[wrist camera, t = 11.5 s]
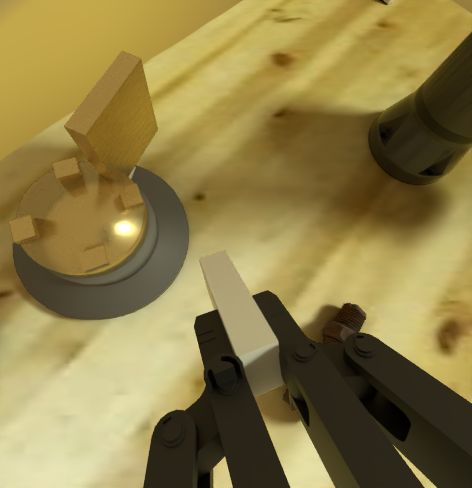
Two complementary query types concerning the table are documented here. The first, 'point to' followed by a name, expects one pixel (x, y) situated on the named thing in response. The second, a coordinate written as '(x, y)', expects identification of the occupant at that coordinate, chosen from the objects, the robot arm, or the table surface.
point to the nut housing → (127, 277)
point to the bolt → (340, 328)
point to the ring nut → (94, 182)
